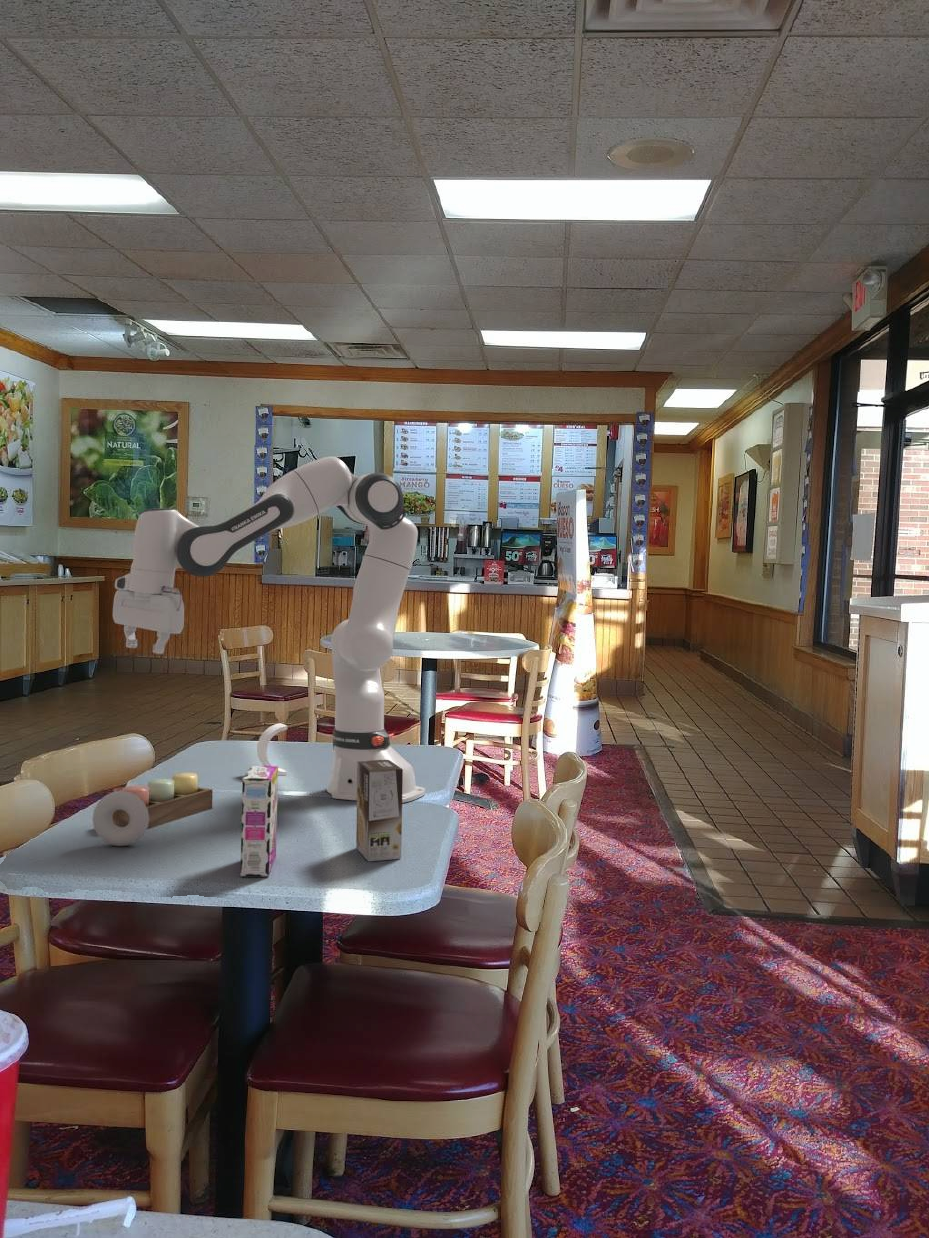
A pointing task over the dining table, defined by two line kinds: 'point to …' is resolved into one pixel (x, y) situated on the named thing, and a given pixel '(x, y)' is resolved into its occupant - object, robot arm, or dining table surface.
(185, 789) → the yellow short cylinder
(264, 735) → the headphone stand
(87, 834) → the dining table surface
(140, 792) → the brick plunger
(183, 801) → the wooden compartment tray
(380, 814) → the coffee box
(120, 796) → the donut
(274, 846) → the candy bar box
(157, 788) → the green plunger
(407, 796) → the robot arm
